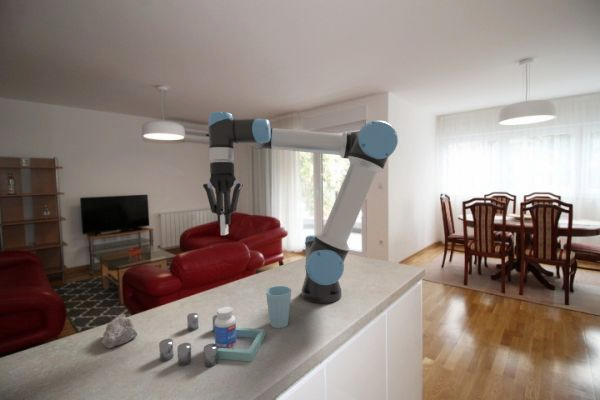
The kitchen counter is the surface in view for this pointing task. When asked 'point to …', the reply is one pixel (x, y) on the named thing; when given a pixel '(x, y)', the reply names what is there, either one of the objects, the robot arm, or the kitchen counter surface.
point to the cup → (278, 305)
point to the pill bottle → (225, 328)
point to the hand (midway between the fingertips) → (224, 234)
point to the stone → (118, 332)
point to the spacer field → (189, 346)
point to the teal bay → (243, 354)
